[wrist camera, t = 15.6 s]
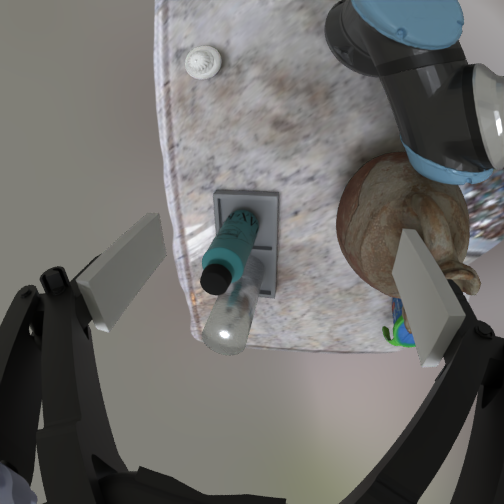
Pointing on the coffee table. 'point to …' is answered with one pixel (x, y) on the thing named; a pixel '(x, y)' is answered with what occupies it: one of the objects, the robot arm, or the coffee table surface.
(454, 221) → the jug
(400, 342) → the snack cup
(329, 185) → the coffee table surface
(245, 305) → the canister
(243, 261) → the beverage bottle
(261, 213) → the tray
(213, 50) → the white lidded jar
